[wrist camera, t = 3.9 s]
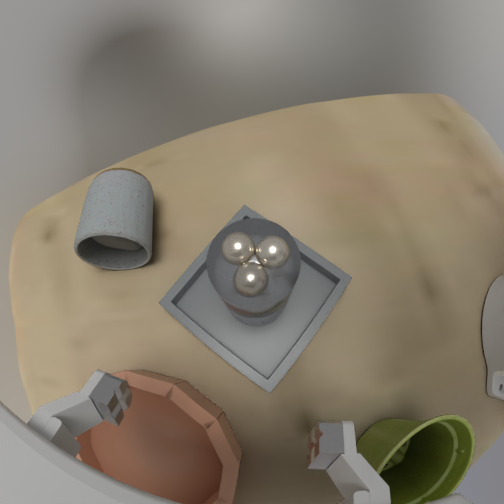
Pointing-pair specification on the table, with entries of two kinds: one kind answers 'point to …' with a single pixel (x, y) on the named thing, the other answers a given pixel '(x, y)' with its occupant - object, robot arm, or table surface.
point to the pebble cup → (254, 269)
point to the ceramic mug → (116, 221)
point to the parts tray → (258, 337)
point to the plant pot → (419, 456)
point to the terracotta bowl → (167, 443)
